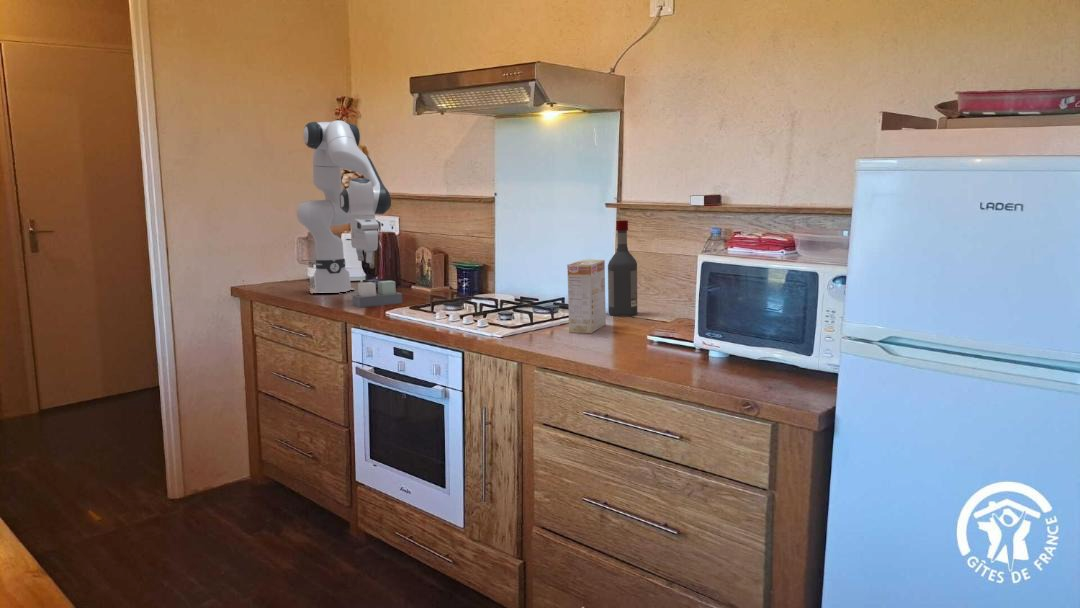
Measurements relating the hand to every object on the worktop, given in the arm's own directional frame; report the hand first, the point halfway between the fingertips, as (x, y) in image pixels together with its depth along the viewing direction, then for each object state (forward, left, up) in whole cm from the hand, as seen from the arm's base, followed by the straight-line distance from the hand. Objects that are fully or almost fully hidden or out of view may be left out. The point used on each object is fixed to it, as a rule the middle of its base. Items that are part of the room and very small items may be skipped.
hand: (364, 261), depth 275 cm
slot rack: (0, +4, -16) cm, 17 cm away
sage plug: (0, +8, -16) cm, 18 cm away
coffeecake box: (+89, +37, -17) cm, 98 cm away
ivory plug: (0, 0, -16) cm, 16 cm away
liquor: (+74, +61, -17) cm, 97 cm away
